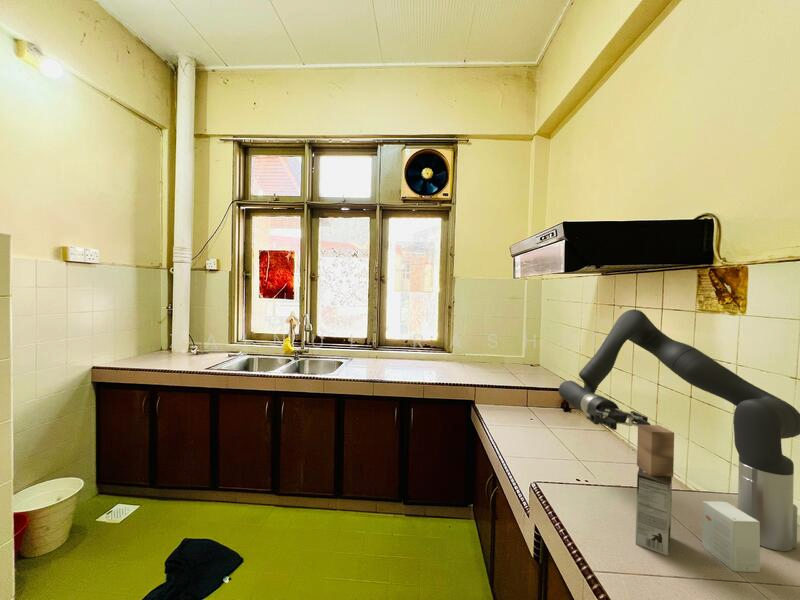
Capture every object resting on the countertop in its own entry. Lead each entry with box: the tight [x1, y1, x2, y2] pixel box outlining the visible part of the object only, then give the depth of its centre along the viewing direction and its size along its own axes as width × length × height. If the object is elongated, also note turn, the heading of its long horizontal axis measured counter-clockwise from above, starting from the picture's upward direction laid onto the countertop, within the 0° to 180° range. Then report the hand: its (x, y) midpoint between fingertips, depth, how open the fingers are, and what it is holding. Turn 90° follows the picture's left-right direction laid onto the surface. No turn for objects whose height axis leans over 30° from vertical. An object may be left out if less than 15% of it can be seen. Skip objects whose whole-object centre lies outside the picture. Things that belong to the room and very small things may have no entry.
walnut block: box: [636, 424, 675, 478], centre depth 83 cm, size 5×5×10 cm
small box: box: [701, 500, 761, 573], centre depth 78 cm, size 8×6×10 cm
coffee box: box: [635, 467, 673, 557], centre depth 83 cm, size 9×6×16 cm
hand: (632, 426), depth 92 cm, fingers open, 8 cm apart
